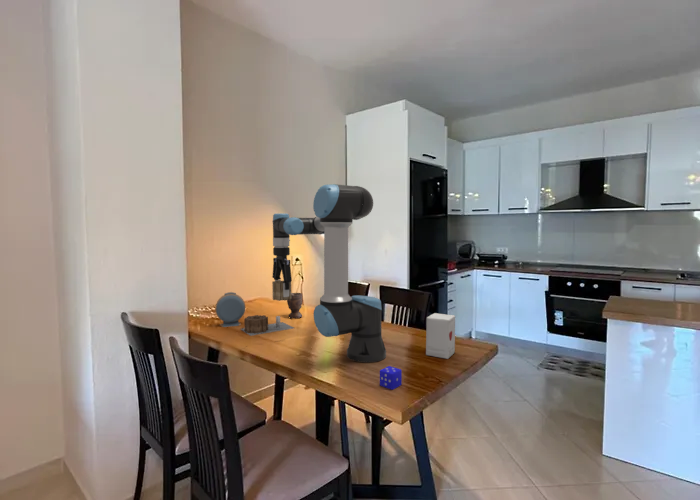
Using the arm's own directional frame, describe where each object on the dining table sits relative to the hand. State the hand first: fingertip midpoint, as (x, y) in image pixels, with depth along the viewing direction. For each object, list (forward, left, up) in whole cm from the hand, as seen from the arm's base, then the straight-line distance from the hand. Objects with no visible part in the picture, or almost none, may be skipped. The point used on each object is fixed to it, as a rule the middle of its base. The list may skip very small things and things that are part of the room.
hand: (281, 295), depth 177 cm
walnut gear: (+7, +10, -17) cm, 21 cm away
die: (-74, -4, -19) cm, 76 cm away
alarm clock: (+25, +16, -19) cm, 35 cm away
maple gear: (0, 0, -2) cm, 2 cm away
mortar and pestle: (+25, -18, -19) cm, 36 cm away
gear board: (+7, +4, -18) cm, 20 cm away
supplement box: (-63, -39, -19) cm, 76 cm away
